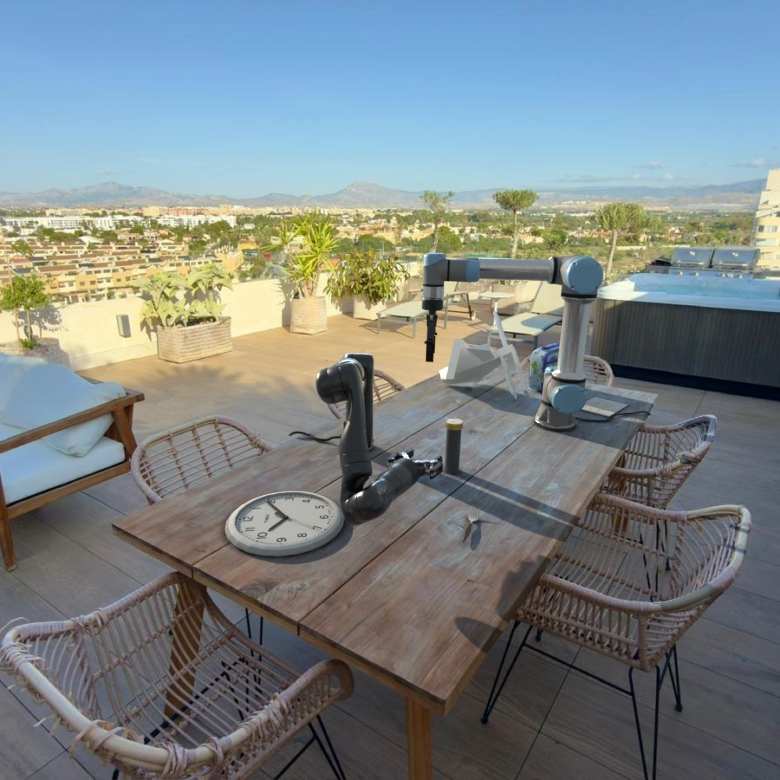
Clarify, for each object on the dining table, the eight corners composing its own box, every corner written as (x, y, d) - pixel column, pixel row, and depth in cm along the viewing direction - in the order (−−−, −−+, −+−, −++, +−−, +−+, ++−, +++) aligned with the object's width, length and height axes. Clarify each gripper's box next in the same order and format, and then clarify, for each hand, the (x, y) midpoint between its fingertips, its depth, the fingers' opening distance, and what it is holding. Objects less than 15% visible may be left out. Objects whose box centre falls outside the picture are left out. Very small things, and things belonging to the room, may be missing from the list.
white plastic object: (461, 429, 252) (437, 405, 227) (444, 352, 274) (420, 323, 250) (535, 404, 240) (518, 377, 215) (510, 326, 262) (492, 293, 237)
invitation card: (608, 416, 214) (573, 407, 224) (608, 416, 214) (573, 408, 224) (628, 404, 229) (594, 396, 238) (628, 405, 229) (594, 397, 238)
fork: (457, 543, 126) (458, 536, 126) (471, 511, 141) (471, 504, 140) (468, 545, 125) (468, 538, 125) (480, 513, 140) (481, 506, 139)
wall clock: (344, 547, 121) (211, 552, 118) (344, 554, 121) (212, 558, 119) (344, 486, 149) (237, 489, 147) (344, 491, 150) (237, 494, 147)
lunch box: (544, 395, 239) (549, 351, 233) (524, 390, 247) (528, 347, 240) (571, 384, 257) (577, 343, 251) (552, 380, 264) (556, 339, 258)
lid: (454, 431, 157) (455, 425, 156) (442, 426, 160) (442, 420, 160) (466, 427, 160) (466, 421, 159) (453, 423, 164) (454, 417, 163)
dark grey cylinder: (452, 475, 161) (454, 426, 157) (441, 470, 165) (444, 422, 160) (461, 471, 164) (464, 423, 159) (451, 466, 167) (454, 419, 163)
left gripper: (424, 470, 126) (451, 448, 140) (374, 457, 133) (403, 437, 146) (423, 498, 128) (449, 473, 142) (373, 484, 135) (403, 462, 148)
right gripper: (424, 293, 195) (422, 349, 202) (419, 302, 172) (417, 365, 178) (444, 294, 195) (441, 350, 201) (442, 303, 171) (439, 366, 177)
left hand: (426, 455), depth 144 cm, fingers open, 8 cm apart
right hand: (430, 357), depth 190 cm, fingers open, 13 cm apart
